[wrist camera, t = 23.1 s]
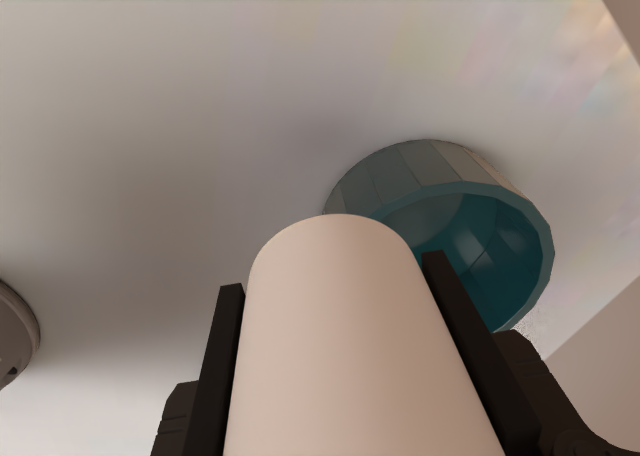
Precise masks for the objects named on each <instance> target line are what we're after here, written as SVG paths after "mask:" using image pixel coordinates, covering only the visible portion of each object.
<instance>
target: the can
mask: <svg viewBox="0 0 640 456" xmlns="http://www.w3.org/2000/svg"><path fill="white" fill-rule="evenodd" d="M223 456H505V454H504V451H503V449H502V447H501V445H500V443H499V440H498V438H497V436H496V434H495V431H494V429H493V427H492V425H491V423H490V420H489V418H488V416H487V414H486V412H485V409H484V407H483V405H482V403H481V401H480V398H479V396H478V394H477V392H476V390H475V387H474V385H473V383H472V381H471V379H470V376H469V374H468V372H467V370H466V368H465V365H464V363H463V361H462V359H461V357H460V354H459V352H458V350H457V348H456V346H455V343H454V341H453V339H452V337H451V335H450V332H449V330H448V328H447V326H446V324H445V321H444V319H443V317H442V315H441V313H440V311H439V308H438V306H437V304H436V302H435V300H434V298H433V295H432V293H431V291H430V289H429V287H428V284H427V282H426V280H425V278H424V276H423V274H422V272H421V269H420V267H419V265H418V263H417V261H416V259H415V257H414V255H413V253H412V251H411V250H410V248H409V247H408V245H407V244H406V242H405V241H404V240H403V239H402V238H401V237H400V236H399V235H398V234H397V233H396V232H395V231H393V230H392V229H390V228H389V227H387V226H386V225H384V224H382V223H380V222H377V221H375V220H372V219H369V218H366V217H362V216H357V215H350V214H327V215H320V216H315V217H311V218H308V219H304V220H302V221H299V222H297V223H294V224H292V225H290V226H288V227H287V228H285V229H283V230H282V231H280V232H279V233H277V234H276V235H275V236H274V237H272V238H271V239H270V240H269V241H268V242H267V243H266V244H265V245H264V247H263V248H262V249H261V250H260V252H259V253H258V255H257V257H256V259H255V261H254V263H253V265H252V268H251V272H250V275H249V281H248V286H247V292H246V299H245V305H244V312H243V319H242V326H241V333H240V339H239V346H238V353H237V360H236V367H235V374H234V381H233V388H232V395H231V402H230V409H229V416H228V423H227V430H226V437H225V445H224V452H223Z"/></svg>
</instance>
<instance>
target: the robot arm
mask: <svg viewBox="0 0 640 456" xmlns="http://www.w3.org/2000/svg"><path fill="white" fill-rule="evenodd" d="M421 260H422V274H423V276H424V278H425V280H426V282H427V284H428V287H429V289H430V291H431V293H432V295H433V298H434V300H435V302H436V304H437V306H438V308H439V311H440V313H441V315H442V317H443V319H444V321H445V324H446V326H447V328H448V330H449V332H450V335H451V337H452V339H453V341H454V343H455V346H456V348H457V350H458V352H459V354H460V357H461V359H462V361H463V363H464V365H465V368H466V370H467V372H468V374H469V376H470V379H471V381H472V383H473V385H474V387H475V390H476V392H477V394H478V396H479V398H480V401H481V403H482V405H483V407H484V409H485V412H486V414H487V416H488V418H489V420H490V423H491V425H492V427H493V429H494V431H495V434H496V436H497V438H498V440H499V443H500V445H501V447H502V449H503V451H504V454H505V456H640V452H633V451H629V450H625V449H621V448H618V447H616V446H614V445H612V444H609V443H608V442H607V441H606V440H604V439H603V438H601V437H599V436H597V435H596V434H595V433H594V432H592V431H591V430H590V429H589V428H588V426H587V425H586V424H585V423H584V421H583V420H582V419H581V417H580V416H579V414H578V413H577V411H576V410H575V408H574V407H573V405H572V404H571V402H570V401H569V399H568V398H567V396H566V395H565V393H564V392H563V390H562V389H561V387H560V386H559V384H558V382H557V381H556V379H555V378H554V376H553V375H552V373H550V372H549V369H548V367H547V366H546V364H545V363H544V361H543V360H541V357H540V355H539V354H538V352H537V351H536V349H535V348H534V346H533V345H532V343H531V342H530V341H529V340H528V339H526V338H525V337H524V336H523V335H521V334H520V333H519V332H517V331H516V330H515V329H512V330H506V331H499V332H493V333H490V332H489V330H488V328H487V327H486V325H485V323H484V321H483V320H482V318H481V316H480V314H479V313H478V311H477V309H476V307H475V305H474V304H473V302H472V300H471V298H470V297H469V295H468V293H467V291H466V290H465V288H464V286H463V284H462V283H461V281H460V279H459V277H458V275H457V274H456V272H455V270H454V268H453V267H452V265H451V263H450V261H449V260H448V258H447V256H446V254H445V252H444V251H443V249H441V250H435V251H429V252H423V253H421ZM245 299H246V295H245V292H244V290H243V287H242V284H241V283H236V284H230V285H224V286H220V290H219V295H218V299H217V303H216V308H215V312H214V316H213V321H212V325H211V329H210V334H209V338H208V342H207V347H206V351H205V355H204V360H203V364H202V368H201V373H200V377H199V380H197V381H191V382H185V383H178V384H177V386H176V387H175V389H174V390H173V392H172V393H171V394H170V396H169V397H168V399H167V401H166V404H165V408H164V411H163V414H162V421H160V424H159V428H158V431H157V432H158V435H156V438H155V441H154V445H153V448H152V451H151V455H150V456H223V452H224V445H225V437H226V430H227V423H228V416H229V409H230V402H231V395H232V388H233V381H234V374H235V367H236V360H237V353H238V346H239V339H240V333H241V326H242V319H243V312H244V305H245ZM39 340H40V334H39V328H38V325H37V322H36V319H35V317H34V315H33V314H32V312H31V311H30V309H29V308H28V306H27V305H26V304H25V303H24V301H23V300H22V299H21V298H20V297H19V296H18V295H17V294H16V293H14V292H13V291H12V290H11V289H10V288H9V287H7V286H6V285H5V284H3V283H2V282H0V390H2V389H3V388H4V387H5V386H6V385H8V384H9V383H10V382H12V381H13V380H14V379H15V378H16V377H17V376H18V375H19V374H20V373H21V372H22V371H23V370H24V369H25V368H26V366H27V365H28V363H29V362H30V360H31V359H32V357H33V356H34V354H35V353H36V351H37V349H38V346H39Z"/></svg>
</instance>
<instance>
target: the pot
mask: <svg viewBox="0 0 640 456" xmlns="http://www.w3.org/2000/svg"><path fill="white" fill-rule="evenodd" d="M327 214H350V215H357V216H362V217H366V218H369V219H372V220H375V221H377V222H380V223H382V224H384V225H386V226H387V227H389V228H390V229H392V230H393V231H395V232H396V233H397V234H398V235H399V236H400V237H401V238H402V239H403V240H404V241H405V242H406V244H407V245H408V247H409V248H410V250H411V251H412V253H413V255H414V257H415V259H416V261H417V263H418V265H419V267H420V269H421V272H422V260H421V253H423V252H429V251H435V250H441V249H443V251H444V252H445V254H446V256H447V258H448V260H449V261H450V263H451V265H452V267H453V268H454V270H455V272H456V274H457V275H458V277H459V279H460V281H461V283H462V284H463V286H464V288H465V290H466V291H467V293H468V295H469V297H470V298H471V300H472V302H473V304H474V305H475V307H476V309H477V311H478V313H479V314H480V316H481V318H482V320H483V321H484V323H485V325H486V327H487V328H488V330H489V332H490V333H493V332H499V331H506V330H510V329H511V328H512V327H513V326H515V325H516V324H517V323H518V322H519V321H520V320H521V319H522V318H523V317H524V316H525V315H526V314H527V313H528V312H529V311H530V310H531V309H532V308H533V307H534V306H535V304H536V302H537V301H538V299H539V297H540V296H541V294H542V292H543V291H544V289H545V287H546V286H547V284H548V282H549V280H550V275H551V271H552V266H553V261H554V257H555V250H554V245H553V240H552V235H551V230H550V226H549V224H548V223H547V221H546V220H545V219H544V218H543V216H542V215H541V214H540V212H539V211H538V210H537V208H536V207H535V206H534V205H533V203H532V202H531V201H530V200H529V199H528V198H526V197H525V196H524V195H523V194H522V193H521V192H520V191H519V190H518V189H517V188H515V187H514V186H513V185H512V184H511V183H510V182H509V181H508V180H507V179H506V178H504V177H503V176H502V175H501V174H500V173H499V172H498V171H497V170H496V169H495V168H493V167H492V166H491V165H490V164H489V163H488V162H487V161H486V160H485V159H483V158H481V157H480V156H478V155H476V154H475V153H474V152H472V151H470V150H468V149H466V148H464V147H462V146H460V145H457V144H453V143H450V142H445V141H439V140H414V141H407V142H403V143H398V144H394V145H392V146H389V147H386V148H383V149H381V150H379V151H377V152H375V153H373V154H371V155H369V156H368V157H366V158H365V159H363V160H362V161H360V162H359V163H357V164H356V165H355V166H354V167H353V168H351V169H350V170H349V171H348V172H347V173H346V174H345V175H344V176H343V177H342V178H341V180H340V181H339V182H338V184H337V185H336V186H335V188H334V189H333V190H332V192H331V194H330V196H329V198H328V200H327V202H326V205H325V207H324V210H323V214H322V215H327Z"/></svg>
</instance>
